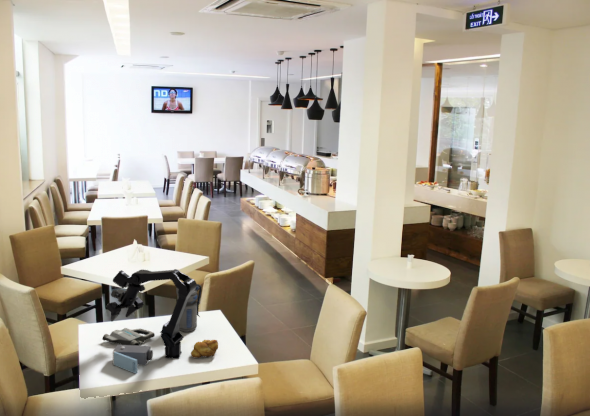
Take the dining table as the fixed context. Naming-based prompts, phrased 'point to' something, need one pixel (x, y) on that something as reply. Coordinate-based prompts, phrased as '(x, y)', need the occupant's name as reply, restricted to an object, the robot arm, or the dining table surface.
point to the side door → (125, 362)
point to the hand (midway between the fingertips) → (118, 318)
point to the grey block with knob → (136, 353)
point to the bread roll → (204, 348)
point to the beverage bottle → (190, 311)
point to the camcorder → (128, 336)
